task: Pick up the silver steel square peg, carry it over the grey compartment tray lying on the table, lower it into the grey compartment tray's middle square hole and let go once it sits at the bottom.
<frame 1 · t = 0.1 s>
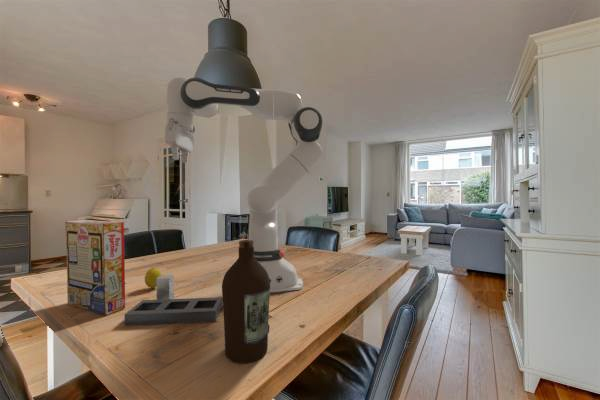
hand: (180, 161, 101), 48 cm above the table, tool pointing down, fingers open, 8 cm apart
grey compartment tray: (177, 315, 79), on the table
lemon: (153, 289, 101), on the table
cereal box: (95, 307, 85), on the table
steel peg: (165, 300, 90), on the table
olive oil: (246, 352, 61), on the table
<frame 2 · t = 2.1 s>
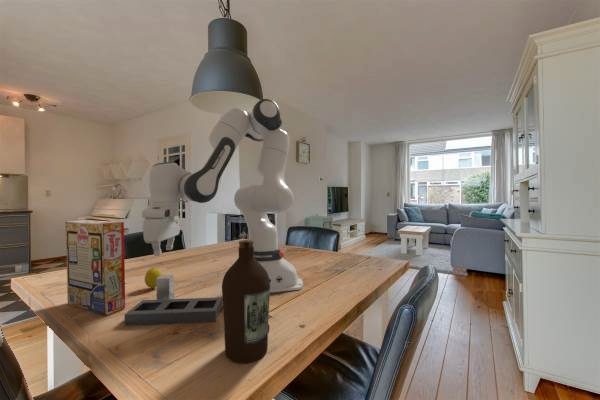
hand: (163, 252, 89), 16 cm above the table, tool pointing down, fingers open, 8 cm apart
nothing on the table moved.
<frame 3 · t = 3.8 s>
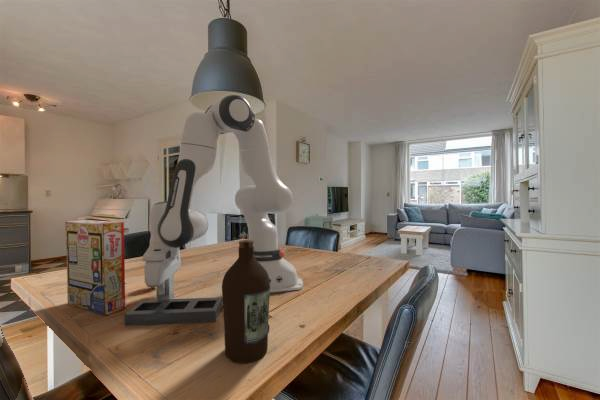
hand: (165, 291, 90), 3 cm above the table, tool pointing down, fingers closed on steel peg, 4 cm apart
steel peg: (165, 300, 90), on the table, touching gripper
everything else where it was.
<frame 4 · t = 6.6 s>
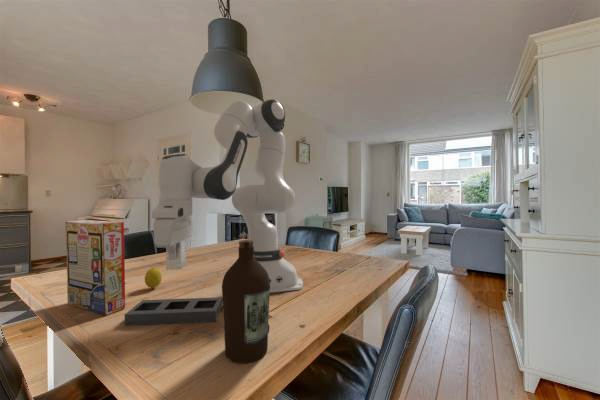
hand: (176, 257, 78), 17 cm above the table, tool pointing down, fingers closed on steel peg, 4 cm apart
steel peg: (176, 267, 79), point 14 cm above the table, touching gripper
everything else where it was.
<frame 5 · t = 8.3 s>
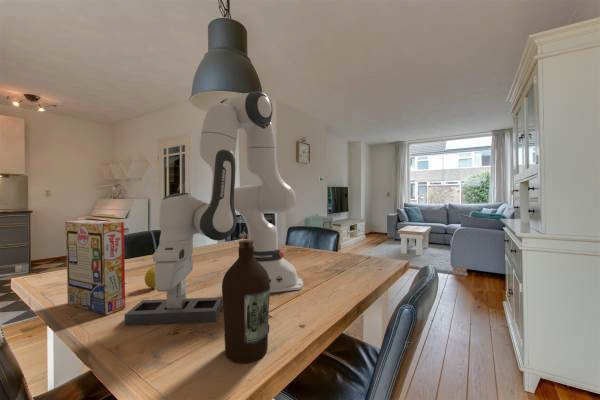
hand: (176, 296, 78), 6 cm above the table, tool pointing down, fingers closed on steel peg, 4 cm apart
steel peg: (176, 306, 78), point 3 cm above the table, touching gripper
everything else where it was.
when the fingers open (5 cm above the table, at t = 9.5 s): steel peg drops 2 cm, resting in grey compartment tray.
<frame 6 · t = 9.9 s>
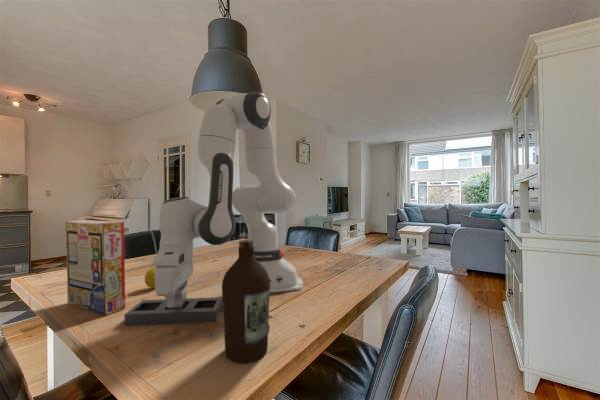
hand: (177, 299, 79), 5 cm above the table, tool pointing down, fingers open, 8 cm apart
steel peg: (177, 315, 79), resting in grey compartment tray
everything else where it was.
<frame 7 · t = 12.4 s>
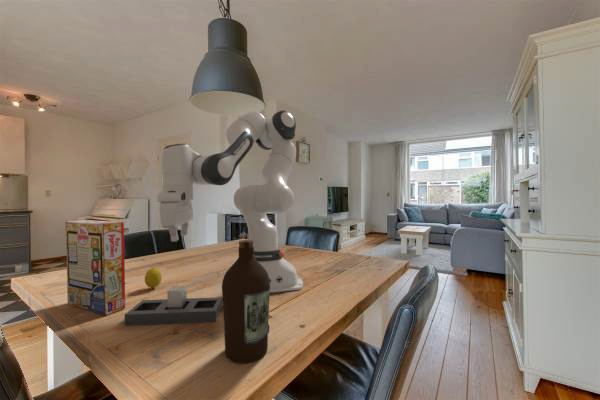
hand: (179, 238, 86), 21 cm above the table, tool pointing down, fingers open, 8 cm apart
nothing on the table moved.
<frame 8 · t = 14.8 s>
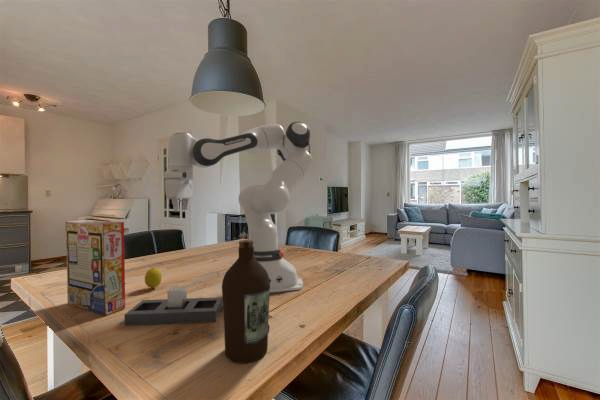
hand: (181, 210, 105), 29 cm above the table, tool pointing down, fingers open, 8 cm apart
nothing on the table moved.
at the end: steel peg 0.1 cm off-centre on the grey compartment tray, point 0.0 cm above the grey compartment tray's base; steel peg tilted 0°; the gripper is holding nothing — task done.
